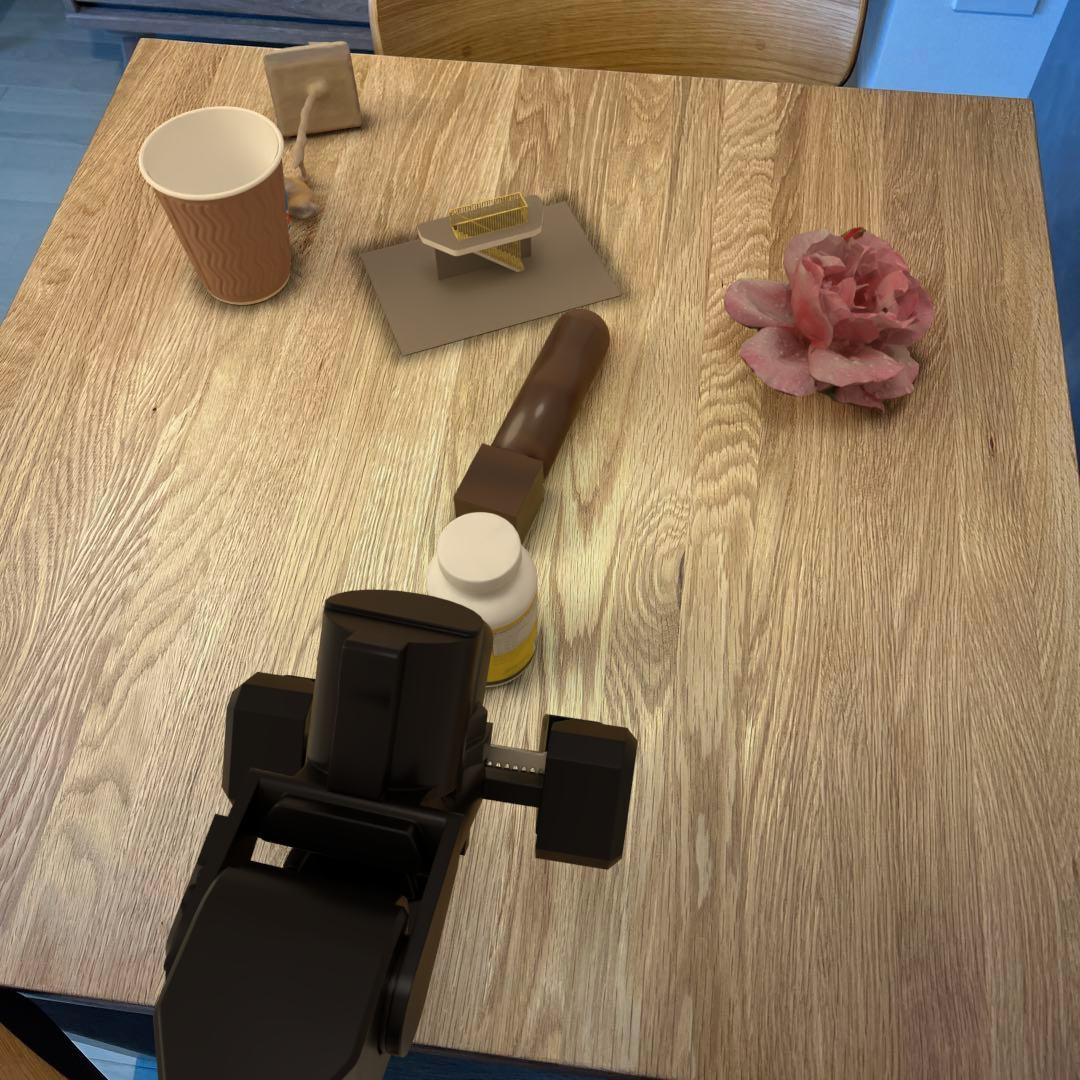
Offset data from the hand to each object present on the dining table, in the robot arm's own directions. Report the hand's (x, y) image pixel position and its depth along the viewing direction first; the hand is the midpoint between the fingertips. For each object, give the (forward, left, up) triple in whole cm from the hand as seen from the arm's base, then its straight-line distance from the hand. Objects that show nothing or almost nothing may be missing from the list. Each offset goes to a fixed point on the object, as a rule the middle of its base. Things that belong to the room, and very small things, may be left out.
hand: (462, 710), depth 61 cm
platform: (+39, +15, -9) cm, 43 cm away
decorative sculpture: (+45, +36, -9) cm, 59 cm away
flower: (+39, -12, -9) cm, 42 cm away
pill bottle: (+8, +2, -9) cm, 12 cm away
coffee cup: (+32, +33, -9) cm, 47 cm away
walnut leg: (+25, +5, -9) cm, 27 cm away
